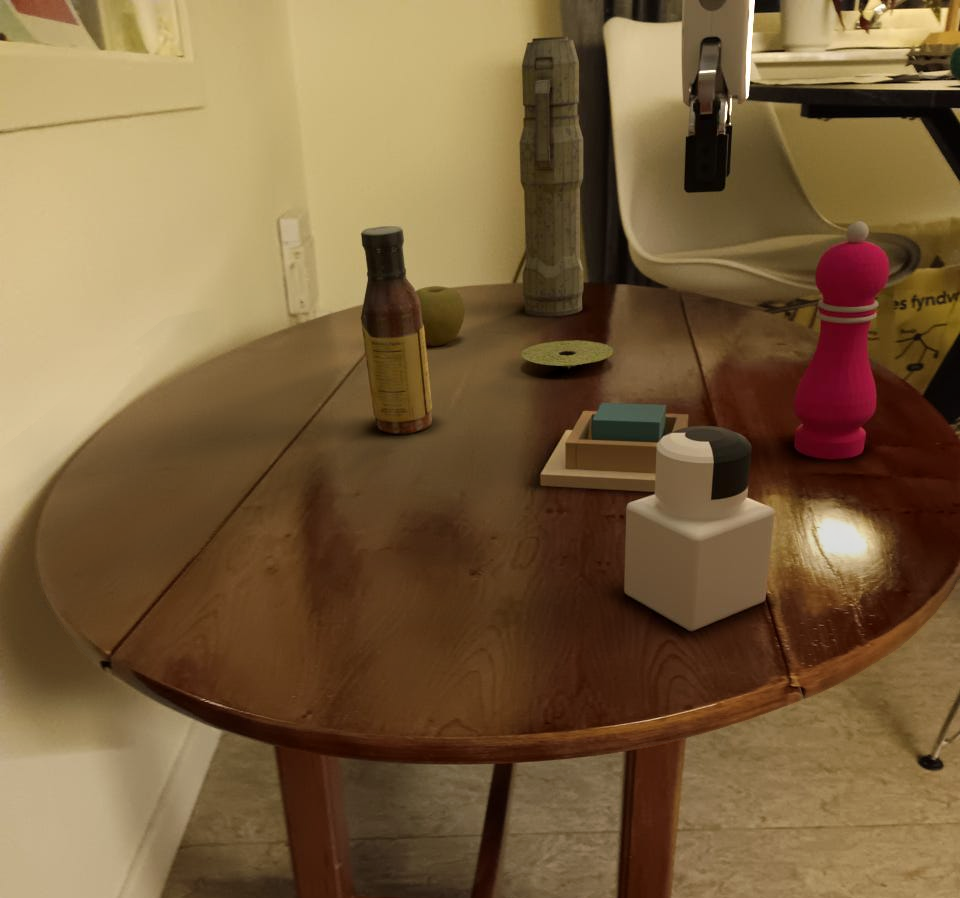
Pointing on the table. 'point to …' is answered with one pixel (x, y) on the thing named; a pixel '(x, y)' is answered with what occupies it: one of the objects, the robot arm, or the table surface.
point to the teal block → (629, 422)
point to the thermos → (551, 177)
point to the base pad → (604, 459)
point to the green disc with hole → (567, 353)
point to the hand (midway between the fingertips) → (707, 184)
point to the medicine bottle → (699, 531)
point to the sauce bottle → (394, 337)
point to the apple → (440, 314)
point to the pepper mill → (841, 350)
